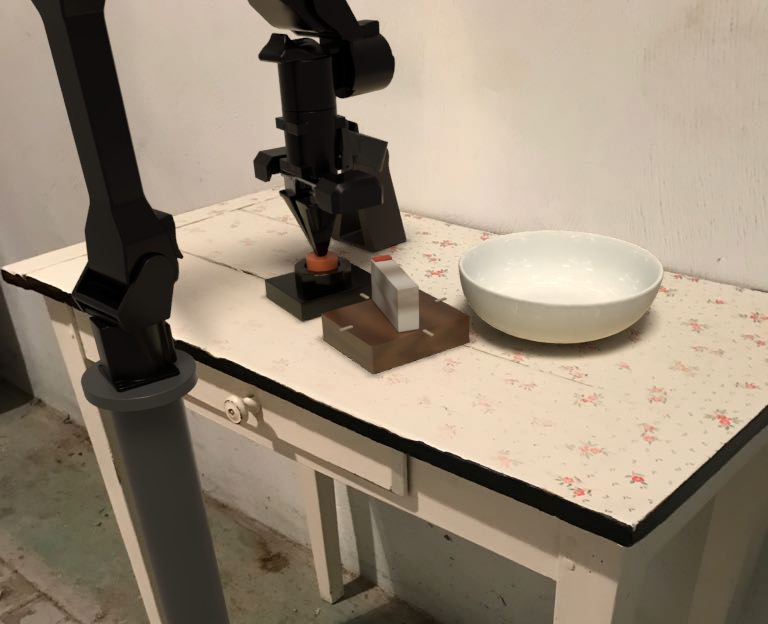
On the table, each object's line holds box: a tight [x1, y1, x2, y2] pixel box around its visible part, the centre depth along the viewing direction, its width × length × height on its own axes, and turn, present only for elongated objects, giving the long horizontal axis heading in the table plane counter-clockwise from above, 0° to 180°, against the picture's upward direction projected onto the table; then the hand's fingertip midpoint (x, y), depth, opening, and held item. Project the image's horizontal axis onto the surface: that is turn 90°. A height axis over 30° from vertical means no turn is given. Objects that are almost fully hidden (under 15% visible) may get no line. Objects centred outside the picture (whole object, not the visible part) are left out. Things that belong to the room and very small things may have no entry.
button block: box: [264, 255, 372, 322], centre depth 96 cm, size 11×9×4 cm
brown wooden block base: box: [320, 288, 471, 375], centre depth 86 cm, size 13×13×3 cm
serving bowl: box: [458, 229, 665, 344], centre depth 87 cm, size 21×21×7 cm
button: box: [305, 249, 338, 271], centre depth 95 cm, size 4×4×2 cm
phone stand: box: [331, 148, 407, 253], centre depth 109 cm, size 9×6×12 cm, turn 43°
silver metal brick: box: [370, 254, 420, 332], centre depth 84 cm, size 9×2×5 cm, turn 18°
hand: (321, 255), depth 94 cm, fingers closed, pressing on button
